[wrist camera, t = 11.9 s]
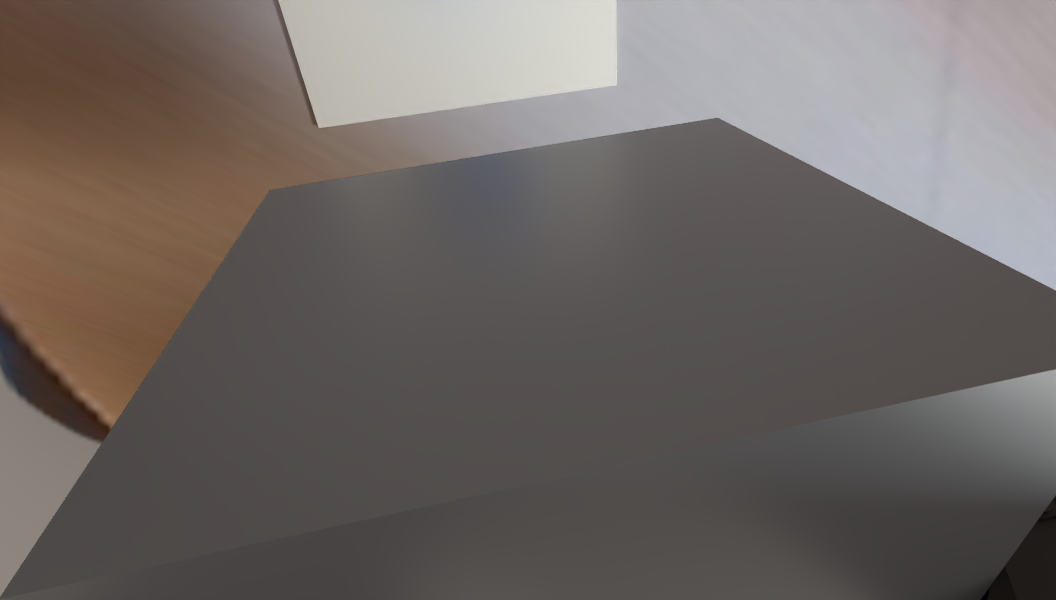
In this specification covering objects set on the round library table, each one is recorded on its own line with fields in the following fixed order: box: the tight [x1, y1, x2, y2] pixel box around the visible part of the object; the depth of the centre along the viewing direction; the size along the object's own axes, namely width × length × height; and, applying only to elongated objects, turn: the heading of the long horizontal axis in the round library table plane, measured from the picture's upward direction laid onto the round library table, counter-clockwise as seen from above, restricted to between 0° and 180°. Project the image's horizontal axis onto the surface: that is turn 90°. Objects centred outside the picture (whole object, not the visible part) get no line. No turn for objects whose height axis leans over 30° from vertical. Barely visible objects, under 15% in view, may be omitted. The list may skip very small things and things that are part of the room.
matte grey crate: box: [0, 118, 1056, 600], centre depth 11 cm, size 10×10×9 cm
